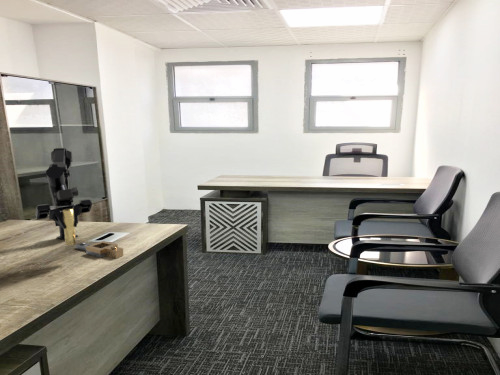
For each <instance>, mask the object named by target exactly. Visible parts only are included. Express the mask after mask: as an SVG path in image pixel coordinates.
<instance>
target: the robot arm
mask: <svg viewBox="0 0 500 375" xmlns="http://www.w3.org/2000/svg"><path fill="white" fill-rule="evenodd" d="M50 160H51V162H52V163H50V164H49V165H48V168H47V169H46V171H45V178H46V179H47V183H48V189H49V191H50V194H51V198H52V203H53V205H50V204H49V203H44V204H37V205H36V207H35V217H36V220H43V219H45V220H46V219H47V218H48V220H52V221H54V223H55V227H58V228H59V236H56V239H59V240H62V241H65V235H64V229H65V224H64V222H63V210H64V209H73V211H74V224H75V228H77V225H78V224H79V219H78V217H79V216H81V214H85V213H86V214H87V213H90V211H91V209H92V207H93V202H92V200H91V199H89V198H87V199H85V198H84V199H80V200H79V201H78V203H74V197H78V196H79V189H78V186H75V187H71V188H70V184H69V182H70V181H69V178H70V176H71V171H70V170H71V168H72V163H73V153H72V151H70V150H67V148H65V147H55V148H53V150H52V151H50ZM73 203H74V204H73ZM75 237H76V238H77V237H79V235H77V234H75Z"/></svg>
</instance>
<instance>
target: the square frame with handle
mask: <svg viewBox="0 0 500 375" xmlns="http://www.w3.org/2000/svg"><path fill="white" fill-rule="evenodd" d="M75 249H78V250H82V251H85V252H86V255H89V256H93V257H96V258H103V257H108V258H112V259H113V258H114V259H118V258H120V257H121V258H122V257H123V256H124V248H123V247H119V246H118V244H117V243H113V242H109V241H105V240H102V241H99V242H96V243H93V244H92V243H88V242H83V241H82V242H79V243H76V244H75Z"/></svg>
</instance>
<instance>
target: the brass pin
mask: <svg viewBox="0 0 500 375" xmlns="http://www.w3.org/2000/svg"><path fill="white" fill-rule="evenodd" d="M63 222H64V224H65V229H64V235H65V240H64V243H65V246H73V245H76V244H77V237H75V235H76V227H75V224H74V211H73V209H64V210H63Z"/></svg>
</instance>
